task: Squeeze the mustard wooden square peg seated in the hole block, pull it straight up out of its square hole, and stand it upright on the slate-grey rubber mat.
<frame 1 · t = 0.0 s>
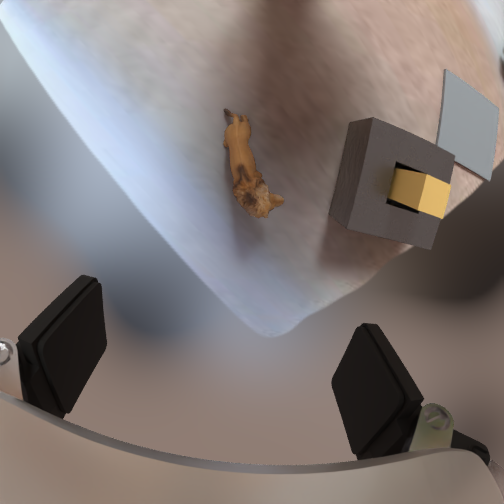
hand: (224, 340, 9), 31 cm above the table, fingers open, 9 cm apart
brown animal figure: (247, 160, 37), on the table
hole block: (381, 180, 38), on the table
peg: (387, 182, 36), point 2 cm above the table, touching hole block
mat: (470, 126, 34), on the table
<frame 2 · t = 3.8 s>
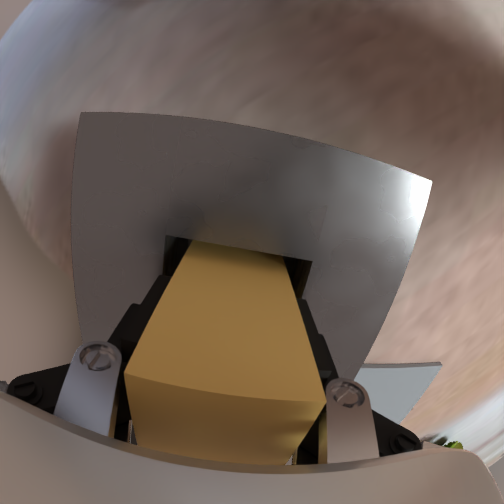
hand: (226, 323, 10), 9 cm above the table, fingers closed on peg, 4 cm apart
hole block: (234, 246, 18), on the table
peg: (233, 257, 17), point 2 cm above the table, touching gripper, hole block
mat: (353, 414, 26), on the table
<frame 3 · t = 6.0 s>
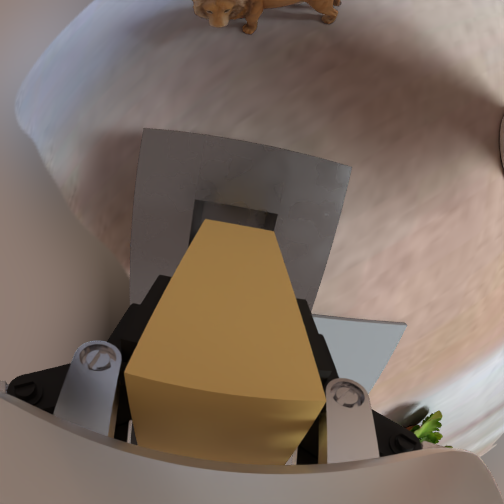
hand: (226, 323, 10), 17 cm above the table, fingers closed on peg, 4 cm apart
brown animal figure: (271, 19, 20), on the table
hole block: (233, 218, 26), on the table
peg: (233, 257, 17), point 10 cm above the table, touching gripper
potted flower: (400, 438, 44), on the table
mat: (332, 367, 34), on the table
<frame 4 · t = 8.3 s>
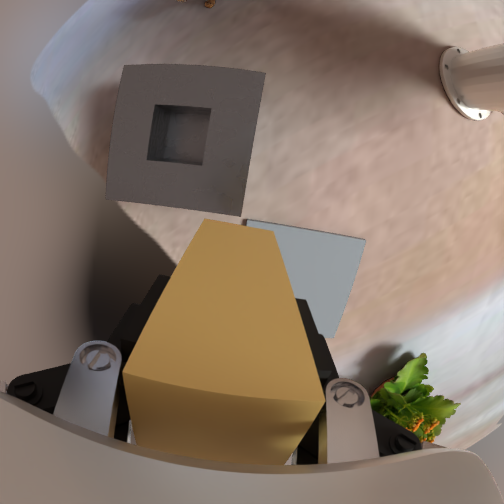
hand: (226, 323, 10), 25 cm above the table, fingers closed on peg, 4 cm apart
hole block: (193, 137, 31), on the table
peg: (233, 257, 17), point 18 cm above the table, touching gripper
potted flower: (389, 393, 48), on the table
mat: (296, 285, 38), on the table
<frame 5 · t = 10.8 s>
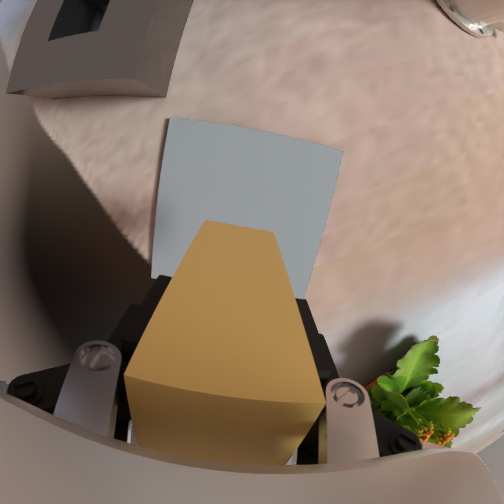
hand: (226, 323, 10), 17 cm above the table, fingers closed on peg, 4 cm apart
hole block: (119, 35, 19), on the table
peg: (233, 258, 17), point 10 cm above the table, touching gripper
potted flower: (384, 392, 36), on the table
mat: (240, 214, 26), on the table
when the fingers open (9 cm above the table, at t = 13.0 s): peg drops 2 cm, resting on mat.
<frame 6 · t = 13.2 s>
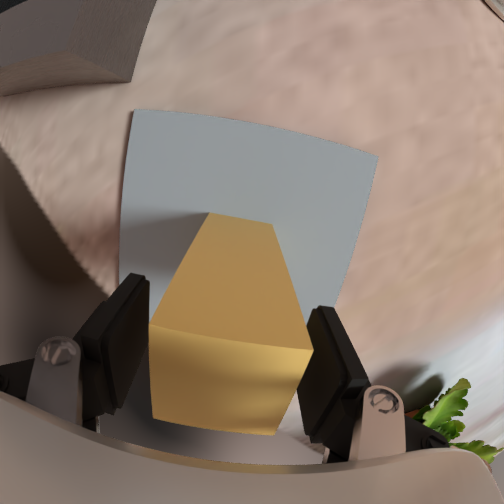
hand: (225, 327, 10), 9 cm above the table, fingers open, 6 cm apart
hole block: (79, 10, 12), on the table
peg: (235, 247, 18), point 1 cm above the table, touching mat
potted flower: (399, 431, 29), on the table
mat: (234, 244, 19), on the table
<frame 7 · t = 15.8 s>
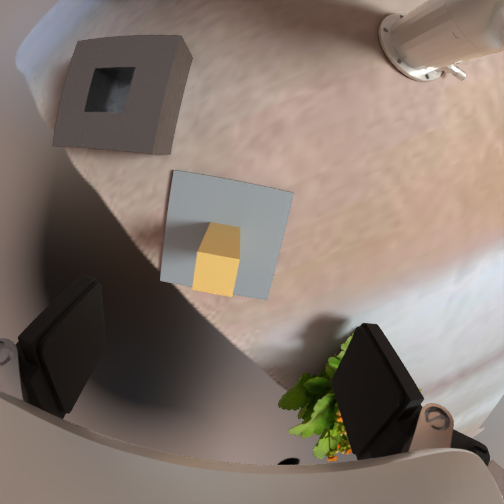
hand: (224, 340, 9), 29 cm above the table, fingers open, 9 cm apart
hole block: (133, 100, 31), on the table
peg: (222, 238, 38), point 1 cm above the table, touching mat
potted flower: (342, 376, 49), on the table
mat: (222, 237, 38), on the table
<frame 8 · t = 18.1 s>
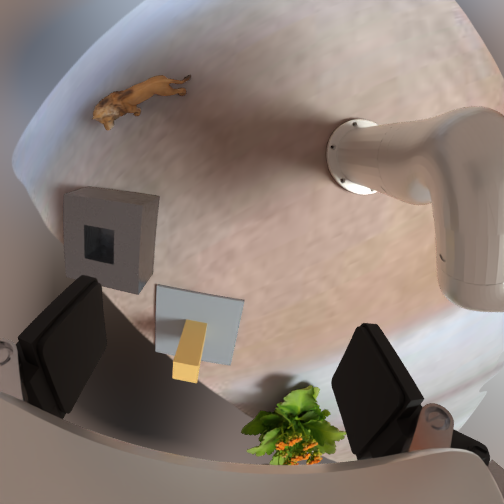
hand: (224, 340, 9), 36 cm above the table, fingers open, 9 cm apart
brown animal figure: (149, 102, 38), on the table
hole block: (119, 229, 45), on the table
peg: (195, 329, 52), point 1 cm above the table, touching mat
potted flower: (296, 410, 62), on the table
mat: (196, 327, 52), on the table
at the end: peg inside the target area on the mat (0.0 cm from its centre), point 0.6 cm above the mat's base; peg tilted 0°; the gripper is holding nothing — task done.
